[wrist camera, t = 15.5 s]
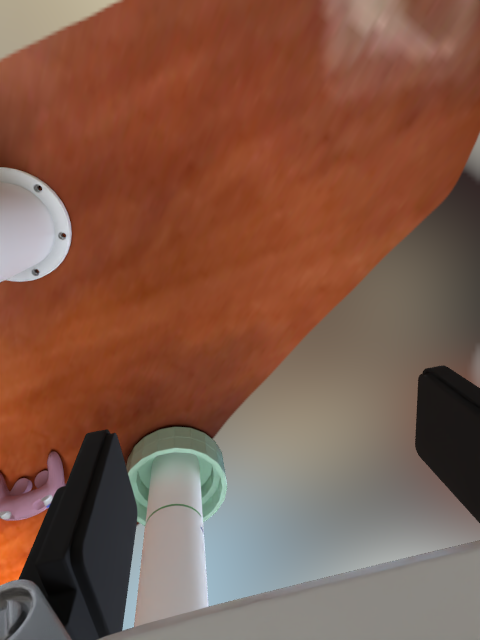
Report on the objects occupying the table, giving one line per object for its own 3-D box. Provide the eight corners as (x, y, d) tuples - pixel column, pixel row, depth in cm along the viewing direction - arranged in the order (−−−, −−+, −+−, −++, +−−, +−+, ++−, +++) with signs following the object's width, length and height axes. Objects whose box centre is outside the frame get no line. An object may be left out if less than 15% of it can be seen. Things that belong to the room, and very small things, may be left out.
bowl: (123, 500, 57) (117, 530, 52) (132, 420, 53) (127, 445, 48) (214, 503, 60) (217, 532, 55) (230, 428, 56) (235, 452, 51)
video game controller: (8, 481, 55) (0, 532, 50) (-13, 470, 52) (-24, 523, 47) (72, 459, 56) (70, 507, 51) (55, 447, 52) (51, 497, 47)
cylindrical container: (158, 490, 57) (142, 697, 34) (145, 454, 55) (119, 649, 31) (203, 478, 58) (219, 673, 34) (193, 442, 55) (201, 625, 32)
